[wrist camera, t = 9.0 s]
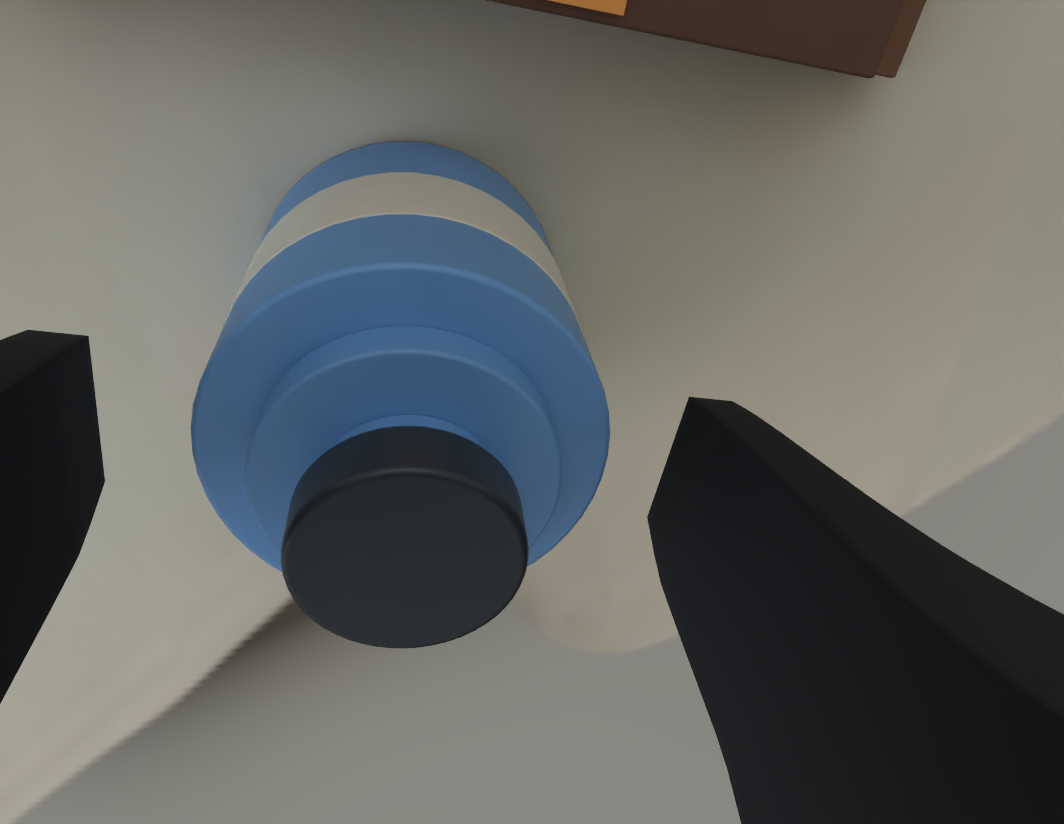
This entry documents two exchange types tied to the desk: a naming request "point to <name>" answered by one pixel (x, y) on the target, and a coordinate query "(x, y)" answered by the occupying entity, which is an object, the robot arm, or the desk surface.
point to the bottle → (401, 397)
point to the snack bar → (767, 27)
